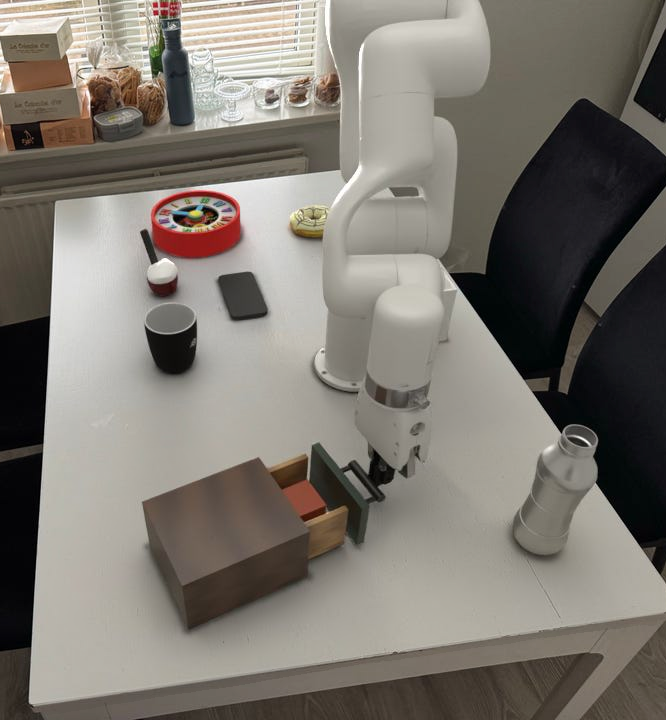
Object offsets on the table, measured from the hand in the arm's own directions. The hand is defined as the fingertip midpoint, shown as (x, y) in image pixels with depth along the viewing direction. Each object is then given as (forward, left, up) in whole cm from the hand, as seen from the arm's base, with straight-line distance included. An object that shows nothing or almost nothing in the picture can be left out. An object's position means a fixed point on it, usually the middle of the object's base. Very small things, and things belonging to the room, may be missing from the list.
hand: (380, 479), depth 95 cm
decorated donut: (-31, -69, -4) cm, 76 cm away
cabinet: (+24, 0, -4) cm, 24 cm away
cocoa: (+8, -63, -4) cm, 64 cm away
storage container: (-29, -37, -4) cm, 48 cm away
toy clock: (-7, -80, -4) cm, 81 cm away
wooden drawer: (+12, 0, -3) cm, 12 cm away
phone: (-5, -53, -4) cm, 54 cm away
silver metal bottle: (-14, +15, -4) cm, 21 cm away
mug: (+14, -42, -4) cm, 45 cm away
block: (+13, 0, -2) cm, 13 cm away
